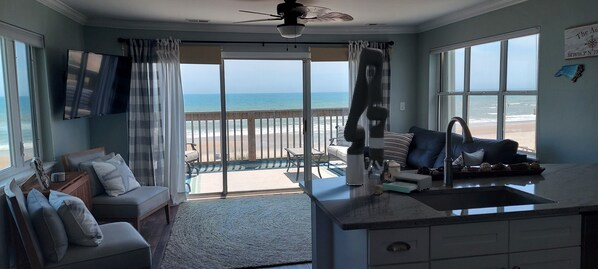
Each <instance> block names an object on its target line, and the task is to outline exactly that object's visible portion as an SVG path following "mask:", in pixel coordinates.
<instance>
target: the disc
mask: <svg viewBox="0 0 598 269" xmlns="http://www.w3.org/2000/svg"><path fill="white" fill-rule="evenodd" d="M380 174H381V173H373V174H370V179H369V180H375V181H377V180H379V181H380Z"/></svg>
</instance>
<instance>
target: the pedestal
mask: <svg viewBox="0 0 598 269" xmlns="http://www.w3.org/2000/svg"><path fill="white" fill-rule="evenodd" d="M373 191H374V192H373V194H374V193H378V194H380V195H382V194H383V184H375V185H374V186H373ZM381 193H382V194H381Z"/></svg>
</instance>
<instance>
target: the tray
mask: <svg viewBox="0 0 598 269" xmlns="http://www.w3.org/2000/svg"><path fill="white" fill-rule="evenodd" d="M417 188H418V184H411V183H404V182H393V181H392V182H391V183H385V182H384V183H382V190H389V191H393V192H394V191H395V192H402V193H407V194H409V193H411V192H412V191H415V190H414V189H417Z"/></svg>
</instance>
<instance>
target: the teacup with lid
mask: <svg viewBox="0 0 598 269" xmlns="http://www.w3.org/2000/svg"><path fill="white" fill-rule="evenodd" d="M398 174H401V164H400V163H397V162H396V161H395V160H394V159H391V160H390V161H389V170H388V172H386V173H385V179H386V180H393V176H395V175H398ZM385 179H384V180H385ZM386 180H385V181H386Z"/></svg>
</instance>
